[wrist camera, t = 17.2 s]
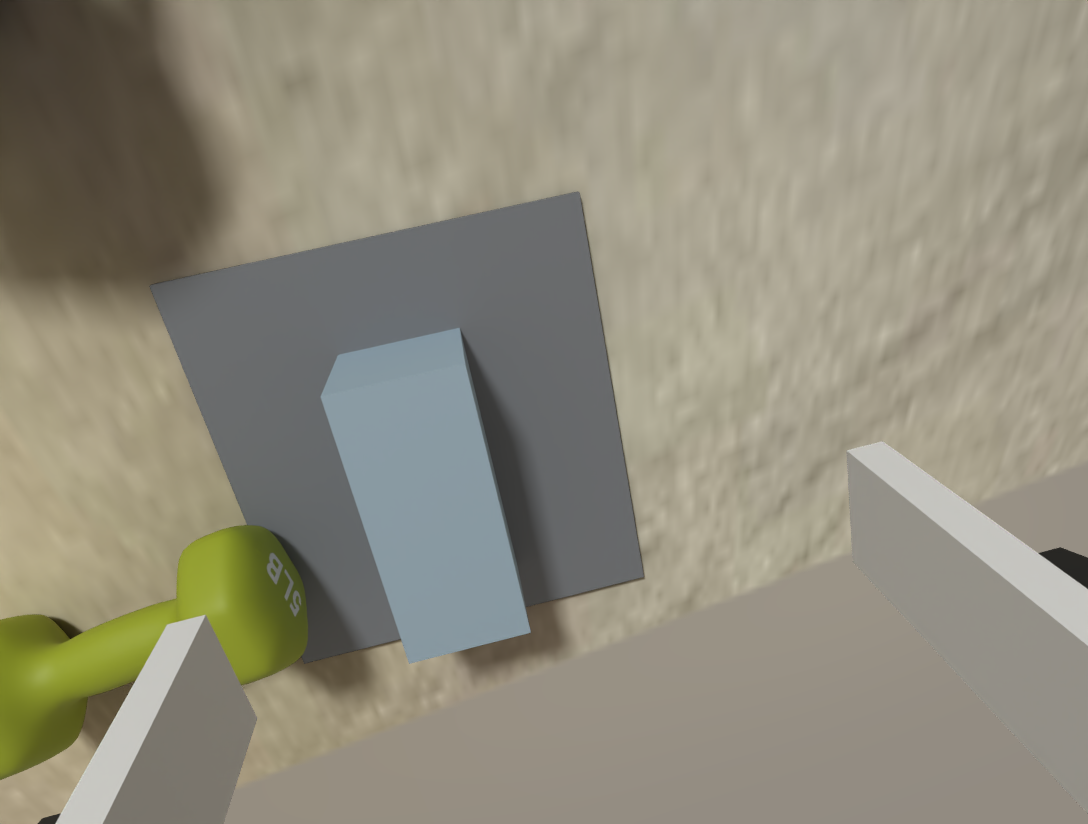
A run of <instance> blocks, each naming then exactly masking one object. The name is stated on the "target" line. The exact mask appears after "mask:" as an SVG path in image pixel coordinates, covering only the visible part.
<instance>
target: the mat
mask: <svg viewBox="0 0 1088 824" xmlns="http://www.w3.org/2000/svg"><path fill="white" fill-rule="evenodd" d="M149 287H150V289H151V292H152V294H153V296H154V299H155V301H156V304H157V306H158V309H159V311H160V313H161V316H162V318H163V321H164V323H165V326H166V328H167V331H168V333H169V335H170V338H171V340H172V343H173V345H174V348H175V350H176V352H177V355H178V357H179V360H180V362H181V365H182V367H183V370H184V372H185V374H186V377H187V379H188V382H189V384H190V387H191V389H192V391H193V394H194V396H195V399H196V401H197V404H198V406H199V409H200V411H201V413H202V416H203V418H204V421H205V423H206V426H207V428H208V430H209V433H210V435H211V438H212V440H213V443H214V445H215V448H216V450H217V452H218V455H219V457H220V460H221V462H222V465H223V467H224V469H225V472H226V474H227V477H228V479H229V482H230V484H231V487H232V489H233V491H234V494H235V496H236V499H237V501H238V504H239V506H240V508H241V511H242V513H243V516H244V518H245V521H246V523H247V525H254V526H262V527H264V528H266V529H268V530H269V531H270V532H271V533H272V534H273V535H274V536H275V537H276V538H277V539H278V541H279V542H280V543H281V545H282V547H283V548H284V550H285V551H286V553H287V555H288V556H289V558H290V560H291V561H292V563H293V564H294V566H295V568H296V569H297V571H298V573H299V575H300V577H301V580H302V582H303V586H304V590H305V596H306V607H307V619H308V641H307V646H306V649H305V651H304V653H303V655H302V656H301V657H302V660H303V662H304V664H305V663H309V662H313V661H317V660H321V659H324V658H328V657H332V656H336V655H340V654H344V653H348V652H352V651H356V650H360V649H364V648H367V647H371V646H375V645H379V644H383V643H387V642H391V641H395V640H399V639H401V637H400V634H399V631H398V628H397V625H396V622H395V619H394V616H393V613H392V610H391V607H390V604H389V601H388V598H387V595H386V592H385V589H384V586H383V583H382V580H381V577H380V574H379V571H378V568H377V565H376V562H375V559H374V556H373V553H372V550H371V547H370V544H369V541H368V538H367V535H366V532H365V529H364V526H363V523H362V520H361V517H360V514H359V511H358V508H357V505H356V502H355V499H354V496H353V493H352V490H351V487H350V484H349V481H348V478H347V475H346V472H345V469H344V466H343V463H342V460H341V457H340V454H339V451H338V448H337V445H336V442H335V439H334V436H333V433H332V430H331V427H330V424H329V421H328V418H327V415H326V412H325V409H324V406H323V403H322V400H321V394H322V392H323V390H324V387H325V385H326V382H327V380H328V378H329V375H330V373H331V370H332V368H333V366H334V363H335V361H336V358H337V356H338V355H340V354H344V353H349V352H353V351H358V350H362V349H367V348H371V347H376V346H380V345H385V344H389V343H394V342H398V341H402V340H407V339H411V338H416V337H420V336H425V335H429V334H434V333H438V332H443V331H447V330H452V329H456V328H460V331H461V335H462V339H463V343H464V348H465V352H466V356H467V360H468V364H469V368H470V372H471V376H472V381H473V385H474V389H475V393H476V397H477V401H478V405H479V409H480V414H481V418H482V422H483V426H484V430H485V434H486V438H487V442H488V447H489V451H490V455H491V459H492V463H493V467H494V471H495V475H496V480H497V484H498V488H499V492H500V496H501V500H502V504H503V508H504V513H505V517H506V521H507V525H508V529H509V533H510V537H511V541H512V546H513V550H514V554H515V558H516V562H517V567H518V572H519V576H520V581H521V586H522V591H523V596H524V601H525V606H526V607H528V606H532V605H536V604H540V603H543V602H547V601H551V600H555V599H559V598H563V597H567V596H571V595H575V594H579V593H583V592H587V591H590V590H594V589H598V588H602V587H606V586H610V585H614V584H618V583H622V582H626V581H630V580H633V579H637V578H641V577H644V575H643V569H642V563H641V557H640V551H639V545H638V539H637V533H636V527H635V521H634V515H633V509H632V503H631V497H630V491H629V485H628V479H627V473H626V467H625V461H624V455H623V449H622V443H621V437H620V431H619V425H618V419H617V414H616V408H615V402H614V396H613V390H612V384H611V378H610V372H609V366H608V360H607V354H606V348H605V342H604V336H603V330H602V324H601V318H600V312H599V306H598V300H597V294H596V288H595V282H594V276H593V270H592V264H591V258H590V252H589V246H588V240H587V235H586V229H585V223H584V217H583V211H582V205H581V199H580V193H579V192H574V193H569V194H564V195H560V196H555V197H551V198H546V199H542V200H537V201H532V202H528V203H523V204H519V205H514V206H509V207H505V208H500V209H496V210H491V211H486V212H482V213H477V214H473V215H468V216H464V217H459V218H454V219H450V220H445V221H441V222H436V223H431V224H427V225H422V226H418V227H413V228H409V229H404V230H399V231H395V232H390V233H386V234H381V235H376V236H372V237H367V238H363V239H358V240H353V241H349V242H344V243H340V244H335V245H331V246H326V247H321V248H317V249H312V250H308V251H303V252H298V253H294V254H289V255H285V256H280V257H276V258H271V259H266V260H262V261H257V262H253V263H248V264H243V265H239V266H234V267H230V268H225V269H220V270H216V271H211V272H207V273H202V274H198V275H193V276H188V277H184V278H179V279H175V280H170V281H165V282H161V283H156V284H152V285H150V286H149Z"/></svg>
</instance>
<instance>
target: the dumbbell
mask: <svg viewBox="0 0 1088 824" xmlns="http://www.w3.org/2000/svg"><path fill="white" fill-rule="evenodd" d="M202 615H206V616H207V618H208V620H209V622H210V624H211V626H212V628H213V630H214V632H215V634H216V636H217V638H218V640H219V642H220V644H221V646H222V648H223V650H224V652H225V654H226V656H227V658H228V660H229V662H230V664H231V666H232V668H233V670H234V672H235V674H236V676H237V678H238V680H239V682H240V684H241V685H244V684H249V683H252V682H255V681H257V680H260V679H262V678H265V677H268V676H270V675H273V674H275V673H277V672H279V671H281V670H283V669H284V668H286V667H288V666H290V665H291V664H293V663H294V662H296V661H297V660H298V659H299V658H300V657H301V656H302V655H303V653H304V651H305V649H306V646H307V641H308V619H307V607H306V596H305V590H304V586H303V582H302V580H301V577H300V575H299V573H298V571H297V569H296V568H295V566H294V564H293V563H292V561H291V560H290V558H289V556H288V555H287V553H286V551H285V550H284V548H283V547H282V545H281V543H280V542H279V541H278V539H277V538H276V537H275V536H274V535H273V534H272V533H271V532H270V531H269V530H268V529H266V528H264V527H262V526H254V525H244V526H234V527H230V528H226V529H222V530H219V531H217V532H214V533H212V534H209V535H207V536H204V537H202V538H200V539H197V540H196V541H194V542H192V543H191V544H190V545H189V546H188V547H187V548H186V549H185V550H183V552H182V554H181V557H180V559H179V564H178V572H177V598H176V599H173V600H169V601H165V602H161V603H158V604H154V605H151V606H148V607H145V608H143V609H140V610H137V611H134V612H131V613H129V614H126V615H123V616H121V617H118V618H115V619H113V620H111V621H108V622H106V623H103V624H101V625H99V626H96V627H94V628H92V629H89V630H87V631H85V632H83V633H81V634H79V635H77V636H75V637H74V638H72V639H69V637H68V636H67V635H66V634H65V633H64V632H63V630H62V629H61V628H60V627H59V626H58V625H57V624H56V623H55V622H54V621H53V620H51V619H50V618H48V617H46V616H44V615H22V616H16V617H11V618H6V619H2V620H0V780H2V779H4V778H7V777H9V776H12V775H14V774H17V773H19V772H22V771H24V770H27V769H29V768H31V767H33V766H35V765H38V764H40V763H42V762H44V761H46V760H48V759H50V758H52V757H53V756H55V755H57V754H59V753H60V752H62V751H64V750H65V749H67V748H68V747H69V746H71V745H72V744H73V743H74V742H75V740H76V739H77V738H78V736H79V733H80V731H81V728H82V725H83V722H84V718H85V713H86V707H87V700H88V697H89V696H93V695H97V694H100V693H104V692H106V691H109V690H112V689H115V688H118V687H120V686H123V685H126V684H128V683H131V682H133V681H136V679H137V677H138V676H139V674H140V672H141V670H142V669H143V667H144V665H145V663H146V661H147V660H148V658H149V656H150V654H151V652H152V651H153V649H154V647H155V645H156V644H157V642H158V640H159V638H160V636H161V635H162V633H163V631H164V629H165V628H166V626H167V624H171V623H175V622H179V621H183V620H187V619H191V618H195V617H199V616H202Z"/></svg>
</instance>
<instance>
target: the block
mask: <svg viewBox="0 0 1088 824" xmlns="http://www.w3.org/2000/svg"><path fill="white" fill-rule="evenodd" d="M321 400H322V403H323V406H324V409H325V412H326V415H327V418H328V421H329V424H330V427H331V430H332V433H333V436H334V439H335V442H336V445H337V448H338V451H339V454H340V457H341V460H342V463H343V466H344V469H345V472H346V475H347V478H348V481H349V484H350V487H351V490H352V493H353V496H354V499H355V502H356V505H357V508H358V511H359V514H360V517H361V520H362V523H363V526H364V529H365V532H366V535H367V538H368V541H369V544H370V547H371V550H372V553H373V556H374V559H375V562H376V565H377V568H378V571H379V574H380V577H381V580H382V583H383V586H384V589H385V592H386V595H387V598H388V601H389V604H390V607H391V610H392V613H393V616H394V619H395V622H396V625H397V628H398V631H399V634H400V637H401V640H402V643H403V646H404V649H405V652H406V655H407V658H408V661H409V664H410V663H414V662H418V661H422V660H426V659H429V658H433V657H437V656H441V655H445V654H449V653H453V652H457V651H461V650H465V649H469V648H473V647H477V646H480V645H484V644H488V643H492V642H496V641H500V640H504V639H508V638H512V637H516V636H520V635H524V634H528V633H531V631H530V626H529V621H528V616H527V611H526V606H525V601H524V596H523V591H522V586H521V581H520V576H519V572H518V567H517V562H516V558H515V554H514V550H513V546H512V541H511V537H510V533H509V529H508V525H507V521H506V517H505V513H504V508H503V504H502V500H501V496H500V492H499V488H498V484H497V480H496V475H495V471H494V467H493V463H492V459H491V455H490V451H489V447H488V442H487V438H486V434H485V430H484V426H483V422H482V418H481V414H480V409H479V405H478V401H477V397H476V393H475V389H474V385H473V381H472V376H471V372H470V368H469V364H468V360H467V356H466V352H465V348H464V343H463V339H462V335H461V331H460V328H456V329H452V330H447V331H443V332H438V333H434V334H429V335H425V336H420V337H416V338H411V339H407V340H402V341H398V342H394V343H389V344H385V345H380V346H376V347H371V348H367V349H362V350H358V351H353V352H349V353H344V354H340V355H338V356H337V358H336V361H335V363H334V366H333V368H332V370H331V373H330V375H329V378H328V380H327V382H326V385H325V387H324V390H323V392H322V394H321Z"/></svg>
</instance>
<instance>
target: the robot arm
mask: <svg viewBox="0 0 1088 824" xmlns="http://www.w3.org/2000/svg"><path fill="white" fill-rule="evenodd" d="M847 468H848V486H849V504H850V523H851V541H852V558H853V563H854V564H855V565H856V566H857V567H858V568H859V569H860V570H861V571H862V573H863V574H864V575H865V576H866V577H867V578H868V579H869V580H870V581H871V582H872V583H873V584H874V585H875V586H876V588H877V589H878V590H879V591H880V592H881V593H882V594H883V595H884V596H885V597H886V598H887V599H888V601H890V603H891V604H892V605H893V606H894V607H895V608H896V609H897V610H898V611H899V612H900V613H901V614H902V616H904V618H905V619H906V620H907V621H908V622H909V623H910V624H911V625H912V626H913V627H914V628H915V629H916V630H917V632H918V633H919V634H920V635H921V636H922V637H923V638H924V639H925V640H926V641H927V642H928V643H929V644H930V645H931V647H932V648H933V649H934V650H935V651H936V652H937V653H938V654H939V655H940V656H941V657H942V658H943V659H944V661H946V662H947V664H948V665H949V666H950V667H951V668H952V669H953V670H954V671H955V672H956V673H957V674H958V675H959V676H960V678H962V680H963V681H964V682H965V683H966V684H967V685H968V686H969V687H970V688H971V689H972V691H973V692H974V693H975V694H976V695H977V696H978V697H979V698H980V699H981V700H982V701H983V702H984V703H985V704H986V705H987V707H988V708H989V709H990V710H991V711H992V712H993V713H994V714H995V715H996V716H997V717H998V718H999V719H1000V720H1001V722H1002V723H1003V724H1004V725H1005V726H1006V727H1007V728H1008V729H1009V730H1010V731H1011V732H1012V733H1013V734H1014V736H1016V738H1017V739H1018V740H1019V741H1020V742H1021V743H1022V744H1023V745H1024V746H1025V747H1026V748H1027V749H1028V751H1029V752H1030V753H1031V754H1032V755H1033V756H1034V757H1035V758H1036V759H1037V760H1038V761H1039V762H1040V763H1041V764H1042V766H1043V767H1044V768H1045V769H1046V770H1047V771H1048V772H1049V773H1050V774H1051V775H1052V776H1053V777H1054V778H1055V780H1056V781H1058V783H1059V784H1060V785H1061V786H1062V787H1063V788H1064V789H1065V790H1066V791H1067V792H1068V793H1069V795H1070V796H1072V798H1073V799H1074V800H1075V801H1076V802H1077V803H1078V804H1079V805H1080V806H1081V807H1082V808H1083V809H1084V811H1085V812H1086V813H1087V814H1088V558H1087V557H1084V556H1082V555H1079V554H1076V553H1074V552H1071V551H1068V550H1066V549H1063V548H1057V549H1052V550H1049V551H1045V552H1042V553H1037V552H1035V551H1034V550H1033V549H1031V548H1030V547H1028V546H1027V545H1026V544H1024V543H1023V542H1022V541H1020V540H1019V539H1017V538H1016V537H1015V536H1013V535H1012V534H1011V533H1009V532H1007V531H1006V530H1005V529H1003V528H1002V527H1001V526H999V525H998V524H997V523H995V522H994V521H993V520H991V519H990V518H988V517H987V516H986V515H984V514H983V513H981V512H980V511H979V510H977V509H976V508H975V507H973V506H972V505H970V504H969V503H968V502H966V501H965V500H963V499H962V498H961V497H959V496H958V495H956V494H955V493H954V492H952V491H951V490H950V489H948V488H947V487H945V486H944V485H943V484H941V483H940V482H938V481H937V480H936V479H934V478H933V477H932V476H930V475H929V474H927V473H926V472H925V471H923V470H922V469H920V468H919V467H918V466H916V465H915V464H914V463H912V462H911V461H909V460H908V459H907V458H905V457H904V456H902V455H901V454H900V453H898V452H897V451H895V450H894V449H893V448H891V447H890V446H889V445H887V444H886V443H884V442H883V441H882V442H878V443H874V444H870V445H866V446H862V447H858V448H854V449H850V450H847ZM256 721H257V716H256V714H255V712H254V710H253V708H252V706H251V704H250V702H249V700H248V698H247V696H246V694H245V692H244V690H243V688H242V686H241V684H240V682H239V680H238V678H237V676H236V674H235V672H234V670H233V668H232V666H231V664H230V662H229V660H228V658H227V656H226V654H225V652H224V650H223V648H222V646H221V644H220V642H219V640H218V638H217V636H216V634H215V632H214V630H213V628H212V626H211V624H210V622H209V620H208V618H207V616H206V615H202V616H199V617H195V618H191V619H187V620H183V621H179V622H175V623H171V624H167V626H166V628H165V629H164V631H163V633H162V635H161V636H160V638H159V640H158V642H157V644H156V645H155V647H154V649H153V651H152V652H151V654H150V656H149V658H148V660H147V661H146V663H145V665H144V667H143V669H142V670H141V672H140V674H139V676H138V677H137V679H136V681H135V683H134V685H133V686H132V688H131V690H130V692H129V693H128V695H127V697H126V699H125V701H124V702H123V704H122V706H121V708H120V709H119V711H118V713H117V715H116V717H115V718H114V720H113V722H112V724H111V726H110V727H109V729H108V731H107V733H106V734H105V736H104V738H103V740H102V742H101V743H100V745H99V747H98V749H97V750H96V752H95V754H94V756H93V758H92V759H91V761H90V763H89V765H88V766H87V768H86V770H85V772H84V774H83V775H82V777H81V779H80V781H79V783H78V784H77V786H76V788H75V790H74V791H73V793H72V795H71V797H70V799H69V800H68V802H67V804H66V806H65V807H64V809H63V811H62V813H61V814H57V815H53V816H49V817H46V818H42V820H41V821H40V822H39V823H38V824H223V823H224V821H225V817H226V814H227V811H228V808H229V805H230V802H231V799H232V796H233V792H234V789H235V786H236V783H237V780H238V777H239V774H240V771H241V767H242V764H243V761H244V758H245V755H246V752H247V749H248V746H249V742H250V739H251V736H252V733H253V730H254V727H255V724H256Z"/></svg>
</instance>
